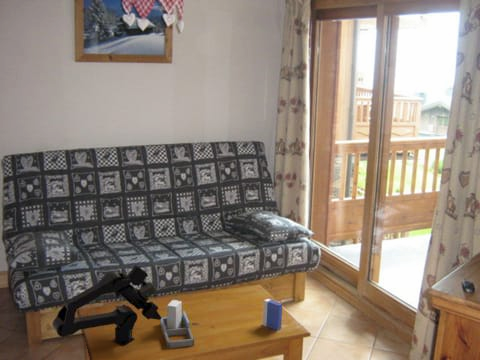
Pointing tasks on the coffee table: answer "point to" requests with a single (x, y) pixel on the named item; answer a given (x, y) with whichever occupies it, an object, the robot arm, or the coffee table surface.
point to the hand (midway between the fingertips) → (155, 314)
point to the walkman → (272, 314)
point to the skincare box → (174, 314)
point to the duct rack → (177, 333)
